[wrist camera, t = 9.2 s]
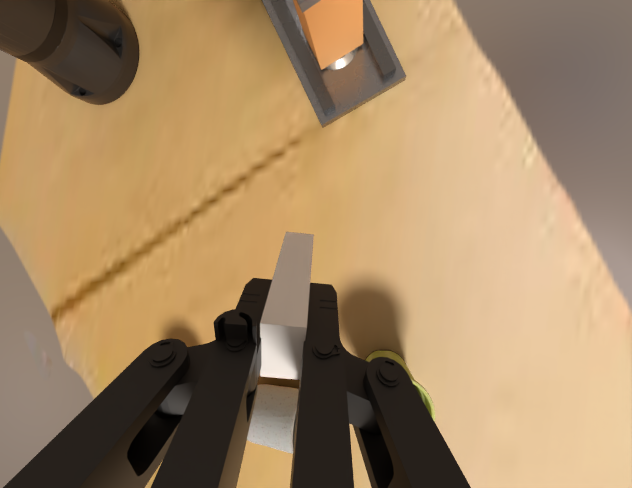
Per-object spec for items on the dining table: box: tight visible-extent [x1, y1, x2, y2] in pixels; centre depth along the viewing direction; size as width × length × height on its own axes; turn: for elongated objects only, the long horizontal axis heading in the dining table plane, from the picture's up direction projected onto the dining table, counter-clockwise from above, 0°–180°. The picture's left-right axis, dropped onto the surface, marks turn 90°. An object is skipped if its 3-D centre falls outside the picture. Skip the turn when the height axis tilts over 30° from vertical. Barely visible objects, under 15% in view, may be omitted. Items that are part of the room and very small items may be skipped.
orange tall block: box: [293, 0, 363, 70], centre depth 28 cm, size 5×6×11 cm
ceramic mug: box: [247, 384, 299, 453], centre depth 38 cm, size 11×8×8 cm
